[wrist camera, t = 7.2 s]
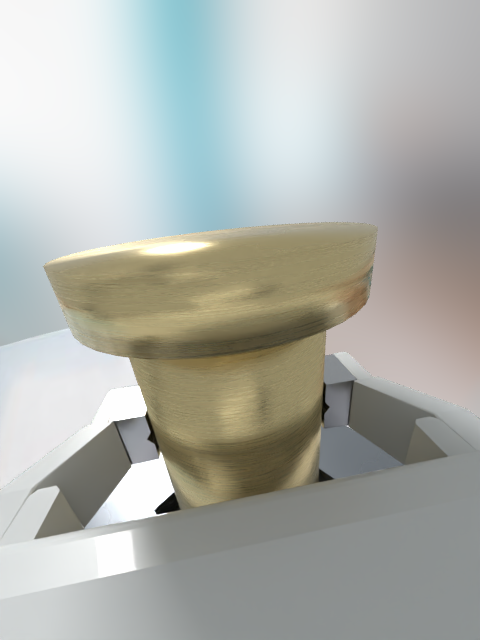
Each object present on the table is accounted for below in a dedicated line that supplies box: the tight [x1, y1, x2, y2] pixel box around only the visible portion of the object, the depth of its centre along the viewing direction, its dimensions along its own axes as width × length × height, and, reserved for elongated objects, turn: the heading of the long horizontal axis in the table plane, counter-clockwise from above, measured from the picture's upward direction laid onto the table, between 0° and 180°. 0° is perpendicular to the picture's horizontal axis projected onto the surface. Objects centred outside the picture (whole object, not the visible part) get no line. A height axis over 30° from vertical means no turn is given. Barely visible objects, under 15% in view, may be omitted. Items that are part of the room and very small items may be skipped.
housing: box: [84, 425, 404, 529], centre depth 11 cm, size 12×12×5 cm
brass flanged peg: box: [43, 222, 378, 510], centre depth 8 cm, size 7×7×13 cm
